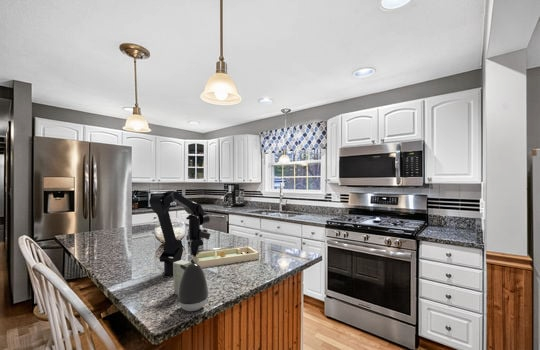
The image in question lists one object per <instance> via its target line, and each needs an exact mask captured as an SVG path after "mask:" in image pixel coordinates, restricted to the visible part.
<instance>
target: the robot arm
mask: <svg viewBox="0 0 540 350" xmlns="http://www.w3.org/2000/svg"><path fill="white" fill-rule="evenodd" d="M148 202H149V206H150V208H151V210H152V212H154V213H155V215H157V219H158V222H159V225H160V228H161V229H160V230H161V233H162V237H163V240H164V244H163V247H162V249H163V251H162V252H161V254H160V256H159V257H158V259H159V262H161V263H162V262H163V271H162V277H163V278H167V277H169V278H170V277H173V262H176V261H180V260H182V257H183V253H184V245H183V242H182V240H181V239H177V238H176V234H175V231H174V230H175V229H174V226H173V223H172V219H171V215H170V213H169V212H170V209H171V204H172V203H174V202H175V204H178V205H179V206H180V207H182V208H183V209H184V211H185V212H186V213H187V214H188V215H187V216H186V220H188V229H187V230H188V234H187V235H186V239H185V240H186V241H187V245H188V247H189V249H190V250H191V251H192V253H193V255H192V257H193V256H194V257H196V254H197V250H198V251H199V247H200V246H204V240H203V239H205V240H209V239H210V237H211V232H208V230H207V229H205V228H204V229H203V230H202V229H201V226H205V225H207V224H209V223H210V222H211V221H210V219H211V218H210V215H208V212H205V211H204V209H203V207H202V205H201V204H200V203H197V202H194V201H192V200H190V199H188V197H185V196H183V195H182V194H181V193H180V192H179V191H178V190H168V191H165V192H163V193H159V194H153V195H151V197H150V198H149V199H148Z"/></svg>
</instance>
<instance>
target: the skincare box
mask: <svg viewBox="0 0 540 350" xmlns="http://www.w3.org/2000/svg"><path fill="white" fill-rule="evenodd" d="M190 264H192V261H189V260H185V259H181V260H180V261H176V262H173V276H172V277H173V294H175V295H178V291H179V285H180V281H181V278H182V275H183V273H184V271H185V270H183V269H182V268H180V265H184V266H186V267H187V266H188V265H190Z"/></svg>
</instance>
